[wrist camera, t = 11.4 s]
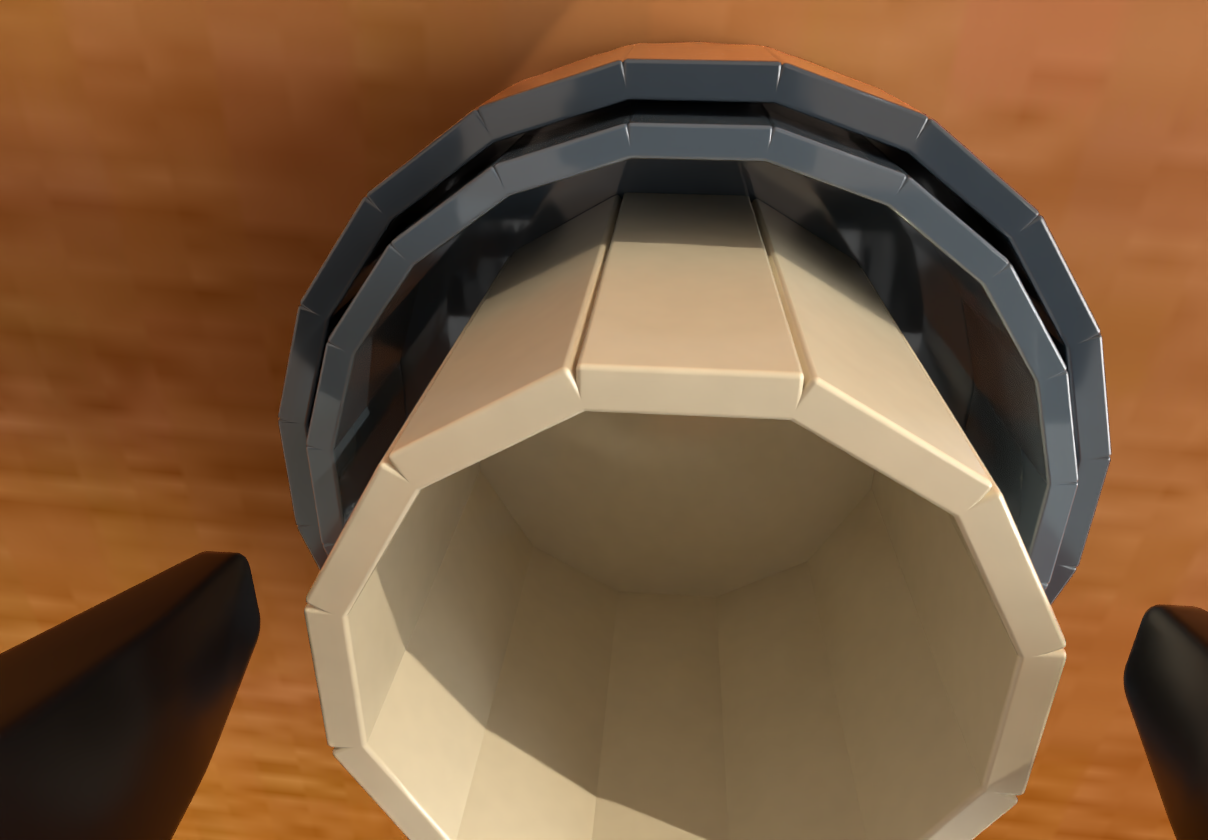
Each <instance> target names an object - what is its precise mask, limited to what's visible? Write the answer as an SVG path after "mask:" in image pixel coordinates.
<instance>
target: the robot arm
mask: <svg viewBox="0 0 1208 840" xmlns="http://www.w3.org/2000/svg"><path fill="white" fill-rule="evenodd" d="M259 631H260V613H259V608H258V604H257V599H256V594H255V589H254V584H253V579H252V574H251V570H250V566H249V563H248V561H247V559H246V557H244V556H243V555H241V554H240V553H232V552H215V551H206V552H201V553H199V554H197V555H195V556H193V557H191V558H189V559H187V560H185V561H183V562H181V563H179V564H177V565H175V566H173V567H171V568H169V569H167V570H165V571H163V572H161V573H159V574H157V575H155V576H153V577H151V578H150V579H148V580H146V581H144V582H142V583H140V584H138V585H136V586H134V587H132V588H130V589H128V590H126V591H124V592H122V593H120V594H118V595H116V596H114V597H112V598H110V599H108V600H106V601H104V602H102V603H100V604H98V605H96V606H94V607H92V608H90V609H88V610H86V611H84V612H82V613H80V614H78V615H76V616H74V617H72V618H71V619H69V620H67V621H65V622H63V623H61V624H59V625H57V626H55V627H53V628H51V629H49V630H47V631H45V632H43V633H41V634H39V635H37V636H35V637H33V638H31V639H29V640H27V641H25V642H23V643H21V644H19V645H17V646H15V647H13V648H11V649H9V650H7V651H5V652H3V653H1V654H0V840H171V839H172V837H173V835H174V833H175V831H176V829H177V827H178V825H179V823H180V821H181V819H182V817H183V816H184V814H185V812H186V810H187V808H188V806H189V804H190V802H191V800H192V798H193V796H194V794H195V792H196V790H197V788H198V786H199V784H200V782H201V780H202V778H203V776H204V774H205V772H206V770H207V767H208V765H209V762H210V760H211V758H212V755H213V753H214V751H215V748H216V746H217V743H218V740H219V738H220V735H221V733H222V730H223V728H224V725H225V722H226V720H227V717H228V715H229V712H230V709H231V707H232V704H233V702H234V699H235V697H236V694H237V691H238V689H239V686H240V684H241V681H242V679H243V676H244V673H245V671H246V668H247V666H248V663H249V660H250V658H251V655H252V653H253V650H254V648H255V645H256V642H257V639H258V636H259ZM1124 689H1125V694H1126V697H1127V700H1128V703H1129V706H1130V709H1131V712H1132V715H1133V718H1134V720H1135V723H1136V726H1137V729H1138V732H1139V735H1140V738H1141V741H1142V744H1143V746H1144V749H1145V752H1146V755H1147V758H1148V761H1149V764H1150V767H1151V769H1152V772H1153V775H1154V778H1155V781H1156V784H1157V787H1158V790H1159V792H1160V795H1161V798H1162V801H1163V804H1164V807H1165V810H1166V813H1167V815H1168V818H1169V821H1170V823H1171V826H1172V829H1173V831H1174V834H1175V836H1176V839H1177V840H1208V612H1207V611H1205V610H1203V609H1201V608H1198V607H1193V606H1177V605H1155V606H1153V607H1151V608H1149V609H1148V610H1147V611H1146V613H1145V614H1144V616H1143V618H1142V621H1141V624H1140V627H1139V630H1138V632H1137V635H1136V638H1135V641H1134V644H1133V647H1132V649H1131V652H1130V655H1129V658H1128V661H1127V663H1126V666H1125V671H1124Z"/></svg>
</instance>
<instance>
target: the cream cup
mask: <svg viewBox="0 0 1208 840" xmlns="http://www.w3.org/2000/svg"><path fill="white" fill-rule="evenodd" d="M306 602H307V605H306V607H305V609H304V614H305V619H306V625H307V631H308V636H309V642H310V648H311V653H312V659H313V664H314V670H315V676H316V681H317V687H318V693H319V698H320V704H321V709H322V715H323V721H324V726H325V732H326V738H327V743H328V745H329V746H330V747H334V749H333V755H334V757H335V758H336V759H337V760H338V761H339V762H340V763H341V764H342V766H343V767H344V768H345V769H346V770H347V771H348V772H349V773H350V774H351V775H352V777H353V778H354V779H355V780H356V781H357V782H358V783H359V784H360V785H361V787H362V788H363V789H364V790H365V791H366V792H367V793H368V794H369V795H370V797H371V798H372V799H373V800H374V801H375V802H376V803H377V804H378V805H379V807H380V808H381V809H382V810H383V811H384V812H385V813H386V814H387V815H388V817H389V818H390V819H391V820H392V821H393V822H394V823H395V824H396V825H397V826H398V828H399V829H400V830H401V831H402V832H403V833H404V834H405V835H406V836H407V838H408V839H409V840H973V839H974V838H975V837H976V836H978V835H979V834H980V833H981V832H982V831H984V830H985V829H986V828H987V827H989V826H990V825H991V824H992V823H993V822H995V821H996V820H997V819H998V818H1000V817H1001V816H1002V815H1003V814H1005V813H1006V812H1007V811H1008V810H1009V809H1011V808H1012V807H1013V806H1014V805H1016V803H1017V802H1018V798H1017V796H1016V795H1023V794H1024V792H1025V789H1026V786H1027V782H1028V779H1029V776H1030V773H1031V770H1032V766H1033V763H1034V760H1035V757H1036V754H1037V750H1038V747H1039V744H1040V741H1041V738H1042V734H1043V731H1044V728H1045V725H1046V722H1047V718H1048V715H1049V712H1050V709H1051V706H1052V702H1053V699H1054V696H1055V693H1056V690H1057V686H1058V683H1059V680H1060V677H1061V674H1062V670H1063V667H1064V664H1065V661H1066V652H1065V650H1064V647H1065V646H1066V640H1065V638H1064V635H1063V633H1062V631H1061V628H1060V626H1059V624H1058V621H1057V619H1056V617H1055V614H1054V612H1053V610H1052V607H1051V605H1050V603H1049V600H1048V598H1047V596H1046V594H1045V591H1044V589H1043V587H1042V584H1041V582H1040V580H1039V577H1038V575H1037V573H1036V570H1035V568H1034V566H1033V563H1032V561H1031V559H1030V557H1029V554H1028V552H1027V550H1026V547H1025V545H1024V543H1023V540H1022V538H1021V536H1020V533H1019V531H1018V529H1017V526H1016V524H1015V522H1014V519H1013V517H1012V515H1011V513H1010V510H1009V508H1008V506H1007V503H1006V501H1005V499H1004V496H1003V494H1002V492H1001V491H1000V489H999V487H998V486H997V484H996V483H995V481H994V479H993V478H992V476H991V475H990V473H989V471H988V470H987V468H986V467H985V465H984V463H983V462H982V460H981V458H980V457H979V455H978V454H977V452H976V450H975V449H974V447H973V446H972V444H971V442H970V441H969V439H968V437H967V436H966V434H965V433H964V431H963V429H962V428H961V426H960V425H959V423H958V421H957V420H956V418H955V416H954V415H953V413H952V412H951V410H950V408H949V407H948V405H947V404H946V402H945V400H944V399H943V397H942V396H941V394H940V392H939V391H938V389H937V387H936V386H935V384H934V383H933V381H932V379H931V378H930V376H929V375H928V373H927V371H926V370H925V368H924V366H923V365H922V363H921V362H920V360H919V358H918V357H917V355H916V354H915V352H914V350H913V349H912V347H911V346H910V344H909V342H908V341H907V339H906V337H905V336H904V334H903V333H902V331H901V329H900V328H899V326H898V325H897V323H896V321H895V320H894V318H893V316H892V315H891V313H890V312H889V310H888V308H887V307H886V305H885V304H884V302H883V300H882V299H881V297H880V295H879V294H878V292H877V291H876V289H875V287H874V286H873V284H872V283H871V281H870V279H869V278H868V276H867V275H866V273H865V271H864V270H863V269H862V268H860V267H859V265H858V263H857V262H856V261H855V260H853V259H852V258H850V257H849V256H847V255H846V254H844V253H842V252H841V251H839V250H838V249H836V248H834V247H833V246H831V245H830V244H828V243H827V242H825V241H823V240H822V239H820V238H819V237H817V236H816V235H814V234H812V233H811V232H809V231H808V230H806V229H805V228H803V227H801V226H800V225H798V224H797V223H795V222H794V221H792V220H790V219H789V218H787V217H786V216H784V215H782V214H781V213H779V212H778V211H776V210H775V209H773V208H771V207H770V206H768V205H767V204H765V203H764V202H762V201H760V200H759V199H755V200H753V202H752V203H751V200H750V197H748V196H734V195H697V194H659V193H625V194H624V195H623V198H622V199H621V198H620V196H618V195H615V196H613V197H611V198H610V199H608V200H606V201H604V202H602V203H600V204H599V205H597V206H595V207H593V208H591V209H590V210H588V211H586V212H584V213H582V214H581V215H579V216H577V217H575V218H573V219H571V220H570V221H568V222H566V223H564V224H562V225H561V226H559V227H557V228H555V229H553V230H552V231H550V232H548V233H546V234H544V235H542V236H541V237H539V238H537V239H535V240H533V241H532V242H530V243H528V244H526V245H524V246H523V247H521V248H519V249H517V250H515V251H514V253H513V254H512V256H511V257H508V258H507V260H506V261H505V263H504V265H503V266H502V268H501V269H500V271H499V272H498V274H497V276H496V277H495V279H494V280H493V282H492V284H491V285H490V287H489V288H488V290H487V292H486V293H485V295H484V296H483V298H482V300H481V301H480V303H479V304H478V306H477V308H476V309H475V311H474V312H473V314H472V316H471V317H470V319H469V320H468V322H467V323H466V325H465V327H464V328H463V330H462V331H461V333H460V335H459V336H458V338H457V339H456V341H455V343H454V344H453V346H452V347H451V349H450V351H449V352H448V354H447V355H446V357H445V359H444V360H443V362H442V363H441V365H440V367H439V368H438V370H437V371H436V373H435V375H434V376H433V378H432V379H431V381H430V382H429V384H428V386H427V387H426V389H425V390H424V392H423V394H422V395H421V397H420V398H419V400H418V402H417V403H416V405H415V406H414V408H413V410H412V411H411V413H410V414H409V416H408V418H407V419H406V421H405V422H404V424H403V426H402V427H401V429H400V430H399V432H398V434H397V435H396V437H395V438H394V440H393V441H392V443H391V445H390V446H389V448H388V449H387V451H386V453H385V454H384V456H383V457H382V459H381V461H380V462H379V464H378V466H377V467H376V469H375V471H374V473H373V475H372V477H371V478H370V480H369V482H368V484H367V486H366V488H365V489H364V491H363V493H362V495H361V497H360V499H359V500H358V502H357V504H356V506H355V508H354V510H353V511H352V513H351V515H350V517H349V519H348V521H347V522H346V524H345V526H344V528H343V530H342V532H341V533H340V535H339V537H338V539H337V541H336V543H335V544H334V546H333V548H332V550H331V552H330V554H329V555H328V557H327V559H326V561H325V563H324V565H323V566H322V568H321V570H320V572H319V574H318V576H317V577H316V579H315V581H314V583H313V585H312V587H311V588H310V590H309V592H308V594H307V596H306Z"/></svg>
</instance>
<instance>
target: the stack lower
mask: <svg viewBox="0 0 1208 840" xmlns="http://www.w3.org/2000/svg"><path fill="white" fill-rule="evenodd" d="M626 100H663V101H714V102H764V103H775V104H778V105H780V106H783V107H786V108H788V109H791V110H794V111H797V112H799V113H802V114H805V115H807V116H810V117H813V118H815V119H818V120H821V121H824V122H826V123H829V124H832V125H834V126H837V127H840V128H842V129H845V130H848V131H850V132H853V133H856V134H859V135H861V136H864V137H866V138H867V139H868V140H869V141H870V142H872V143H873V144H874V145H875V146H876V147H877V148H879V149H880V150H881V151H882V152H883V153H885V154H886V155H887V156H888V157H889V158H890V159H892V160H893V161H894V162H895V163H896V164H897V165H899V166H900V167H901V168H902V169H903V170H905V171H906V172H907V173H908V174H909V175H910V176H912V177H913V178H914V179H915V180H916V181H918V182H919V183H920V184H921V185H922V186H923V187H925V188H926V189H927V190H928V191H929V192H930V193H932V194H933V195H934V196H935V197H936V198H938V199H939V200H940V201H941V202H942V203H943V204H944V205H946V206H947V207H948V208H949V209H950V210H951V211H953V212H954V213H955V214H956V215H957V216H958V217H960V218H961V219H962V220H963V221H964V222H965V223H966V224H968V225H969V226H970V227H971V228H972V229H973V230H975V231H976V232H977V233H978V234H979V235H980V236H981V237H983V238H984V239H985V240H986V241H987V242H988V243H990V244H991V245H992V246H993V247H994V248H995V249H997V250H998V251H999V252H1000V253H1001V254H1002V255H1003V256H1005V257H1006V258H1007V259H1008V261H1009V262H1010V263H1011V264H1012V265H1013V267H1014V269H1015V271H1016V273H1017V275H1018V276H1019V278H1020V280H1021V282H1022V284H1023V286H1024V288H1025V290H1026V291H1027V293H1028V295H1029V297H1030V299H1031V301H1032V303H1033V305H1034V306H1035V308H1036V310H1037V312H1038V314H1039V316H1040V318H1041V320H1042V321H1043V323H1044V325H1045V327H1046V329H1047V331H1048V333H1049V335H1050V336H1051V338H1052V340H1053V342H1054V344H1055V346H1056V348H1057V350H1058V351H1059V353H1060V355H1061V357H1062V359H1063V361H1064V363H1065V365H1066V369H1067V372H1068V374H1069V384H1070V394H1071V405H1072V415H1073V425H1074V435H1075V445H1076V455H1077V465H1078V476H1079V480H1078V481H1077V482H1078V487H1077V491H1076V494H1075V498H1074V501H1073V504H1072V508H1071V511H1070V515H1069V518H1068V522H1067V525H1066V529H1065V532H1064V536H1063V539H1062V543H1061V546H1060V550H1059V553H1058V557H1057V560H1056V563H1055V567H1054V570H1053V574H1052V577H1051V581H1050V583H1048V587H1047V589H1046V590H1045V594H1046V596H1047V598H1048V600H1049V603H1050V605H1051V604H1052V603H1053V602H1054V600H1055V599H1056V598H1057V596H1058V595H1059V593H1060V592H1061V591H1062V589H1063V588H1064V587H1065V585H1066V584H1067V582H1068V581H1069V580H1070V578H1071V577H1072V576H1073V574H1074V573H1075V571H1076V567H1078V565H1079V563H1080V559H1081V556H1082V553H1083V550H1084V546H1085V543H1086V540H1087V536H1088V533H1089V530H1090V526H1091V523H1092V520H1093V517H1094V513H1095V510H1096V507H1097V503H1098V500H1099V497H1100V493H1101V490H1102V487H1103V483H1104V480H1105V477H1106V474H1107V470H1108V467H1109V464H1110V460H1111V459H1110V455H1111V441H1110V429H1109V416H1108V404H1107V391H1106V379H1105V366H1104V354H1103V341H1102V335H1101V334H1100V328H1099V326H1098V324H1097V322H1096V320H1095V318H1094V316H1093V314H1092V312H1091V310H1090V308H1089V306H1088V304H1087V302H1086V300H1085V298H1084V296H1083V294H1082V292H1081V290H1080V288H1079V287H1078V285H1077V283H1076V281H1075V279H1074V277H1073V275H1072V273H1071V271H1070V269H1069V267H1068V265H1067V263H1066V261H1065V259H1064V257H1063V255H1062V253H1061V251H1060V249H1059V247H1058V245H1057V243H1056V241H1055V239H1054V237H1053V235H1052V233H1051V231H1050V229H1049V228H1048V226H1047V224H1046V222H1045V220H1044V218H1043V216H1041V215H1040V214H1039V212H1038V210H1037V209H1036V208H1035V207H1034V206H1033V205H1031V204H1030V203H1029V202H1028V201H1027V200H1026V199H1025V198H1023V197H1022V196H1021V195H1020V194H1019V193H1018V192H1017V191H1015V190H1014V189H1013V188H1012V187H1011V186H1010V185H1009V184H1007V183H1006V182H1005V181H1004V180H1003V179H1002V178H1001V177H999V176H998V175H997V174H996V173H995V172H994V171H993V170H991V169H990V168H989V167H988V166H987V165H986V164H985V163H983V162H982V161H981V160H980V159H979V158H978V157H977V156H975V155H974V154H973V153H972V152H971V151H970V150H969V149H967V148H966V147H965V146H964V145H963V144H962V143H961V142H959V141H958V140H957V139H956V138H955V137H954V136H953V135H951V134H950V133H949V132H948V131H947V130H946V129H945V128H943V127H942V126H941V125H940V124H939V123H938V122H937V121H935V120H934V119H933V118H931V117H929V116H927V115H926V114H924V113H922V112H921V111H919V110H917V109H915V108H913V107H912V106H910V105H908V104H906V103H905V102H903V101H901V100H899V99H897V98H896V97H894V96H892V95H890V94H888V93H887V92H885V91H883V90H881V89H880V88H877V87H874V86H872V85H869V84H866V83H864V82H861V81H858V80H856V79H853V78H850V77H848V76H845V75H843V74H840V73H837V72H835V71H832V70H830V69H827V68H825V67H822V66H820V65H817V64H814V63H812V62H809V61H807V60H804V59H802V58H799V57H795V56H792V55H789V54H786V53H784V52H781V51H778V50H776V49H773V48H770V47H768V46H764V47H763V46H761V45H740V44H723V43H711V42H700V41H695V42H677V43H637V44H635V45H633V44H629V45H626V46H623V47H620V48H617V49H614V50H611V51H608V52H605V53H600V54H596V55H593V56H590V57H587V58H584V59H581V60H579V61H576V62H573V63H570V64H567V65H564V66H561V67H559V68H556V69H553V70H550V71H548V72H546V73H543V74H540V75H537V76H534V77H531V78H528V79H525V80H522V81H519V82H517V83H515V84H514V85H511V86H510V87H508V88H506V89H505V90H503V91H502V92H500V93H498V94H497V95H495V96H493V97H492V98H490V99H489V100H487V101H485V102H484V103H482V104H481V105H479V106H477V107H476V108H474V109H473V110H471V111H470V112H469V113H468V114H466V115H465V116H464V117H462V118H461V119H460V120H459V121H457V122H456V123H455V124H454V125H452V126H451V127H450V128H448V129H447V130H446V131H445V132H443V133H442V134H441V135H440V136H438V137H437V138H436V139H434V140H433V141H432V142H431V143H429V144H428V145H427V146H426V147H424V148H423V149H422V150H420V151H419V152H418V153H417V154H415V155H414V156H413V157H412V158H410V159H409V160H408V161H406V162H405V163H404V164H403V165H401V166H400V167H399V168H398V169H396V170H395V171H394V172H392V173H391V174H390V175H389V176H387V177H386V178H385V179H384V180H382V181H381V182H380V183H378V184H377V185H376V186H375V187H373V188H372V189H371V190H370V191H368V193H367V195H366V196H365V197H363V198H362V200H361V201H360V203H359V205H358V206H357V208H356V210H355V211H354V213H353V214H352V216H351V218H350V219H349V221H348V223H347V224H346V226H345V228H344V229H343V231H342V233H341V234H340V236H339V238H338V239H337V241H336V242H335V244H334V246H333V247H332V249H331V251H330V252H329V254H328V256H327V257H326V259H325V261H324V262H323V264H322V266H321V267H320V269H319V270H318V272H317V274H316V275H315V277H314V279H313V280H312V282H311V284H310V285H309V287H308V289H307V290H306V292H305V294H304V295H303V297H302V298H301V300H300V305H299V306H298V309H297V315H296V320H295V326H294V331H293V337H292V342H291V347H290V353H289V358H288V364H287V369H286V375H285V380H284V386H283V391H282V397H281V402H280V408H279V413H278V417H279V420H278V424H279V430H280V435H281V441H282V447H283V453H284V459H285V464H286V470H287V476H288V482H289V487H290V493H291V499H292V505H293V511H294V516H295V522H296V525H298V531H299V532H300V534H301V536H302V538H303V540H304V542H305V544H306V545H307V547H308V549H309V551H310V553H311V555H312V557H313V558H314V560H315V562H316V564H317V566H318V568H319V570H321V568H322V566H323V565H324V563H325V561H326V559H327V557H328V556H327V554H326V552H325V550H324V548H323V543H322V542H321V538H320V531H319V525H318V519H317V513H316V506H315V500H314V494H313V487H312V481H311V475H310V469H309V462H308V456H307V450H306V447H307V443H306V441H307V436H308V431H309V426H310V421H311V416H312V411H313V406H314V401H315V396H316V392H317V387H318V382H319V377H320V372H321V367H322V362H323V357H324V352H325V347H326V343H327V342H328V339H329V336H330V335H331V333H332V332H333V330H334V328H335V327H336V325H337V324H338V322H339V321H340V319H341V318H342V316H343V314H344V313H345V311H346V310H347V308H348V307H349V305H350V303H351V302H352V300H353V299H354V297H355V296H356V294H357V292H358V291H359V289H360V288H361V286H362V285H363V283H364V281H365V280H366V278H367V277H368V275H369V274H370V272H371V271H372V269H373V267H374V266H375V264H376V263H377V261H378V260H379V258H380V256H381V255H382V253H383V252H384V250H385V249H386V247H387V245H388V244H390V243H391V242H392V240H393V239H394V238H395V237H396V236H398V235H399V234H400V233H401V232H402V231H403V230H404V229H405V228H406V227H408V226H409V225H410V224H411V223H412V222H413V221H414V220H415V219H416V218H417V217H419V216H420V215H421V214H422V213H423V212H424V211H425V210H426V209H427V208H429V207H430V206H431V205H432V204H433V203H434V202H435V201H436V200H437V199H439V198H440V197H441V196H442V195H443V194H444V193H445V192H446V191H447V190H449V189H450V188H451V187H452V186H453V185H454V184H456V183H457V182H458V181H460V180H461V179H462V178H464V177H465V176H466V175H468V174H469V173H470V172H472V171H473V170H474V169H475V168H477V167H478V166H479V165H481V164H482V163H483V162H485V161H486V160H487V159H489V158H490V157H491V156H493V155H494V154H495V153H497V152H498V151H499V150H501V149H502V148H503V147H505V146H506V145H507V144H509V143H510V142H511V141H512V140H514V139H515V138H516V137H518V136H519V135H520V134H523V133H526V132H529V131H532V130H536V129H539V128H542V127H545V126H548V125H551V124H554V123H557V122H560V121H564V120H567V119H570V118H573V117H576V116H579V115H582V114H585V113H588V112H592V111H595V110H598V109H601V108H604V107H607V106H610V105H613V104H616V103H620V102H623V101H626Z"/></svg>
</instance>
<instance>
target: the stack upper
mask: <svg viewBox="0 0 1208 840" xmlns="http://www.w3.org/2000/svg"><path fill="white" fill-rule="evenodd" d="M625 193H659V194H697V195H734V196H748V197H750V200H751V203H752V202H753V200H755V199H759V200H760V201H762V202H764V203H765V204H767V205H768V206H770V207H771V208H773V209H775V210H776V211H778V212H779V213H781V214H782V215H784V216H786V217H787V218H789V219H790V220H792V221H794V222H795V223H797V224H798V225H800V226H801V227H803V228H805V229H806V230H808V231H809V232H811V233H812V234H814V235H816V236H817V237H819V238H820V239H822V240H823V241H825V242H827V243H828V244H830V245H831V246H833V247H834V248H836V249H838V250H839V251H841V252H842V253H844V254H846V255H847V256H849V257H850V258H852V259H853V260H855V261H856V262H857V263H858V265H859V267H860V268H862V269H863V270H864V271H865V273H866V275H867V276H868V278H869V279H870V281H871V283H872V284H873V286H874V287H875V289H876V291H877V292H878V294H879V295H880V297H881V299H882V300H883V302H884V304H885V305H886V307H887V308H888V310H889V312H890V313H891V315H892V316H893V318H894V320H895V321H896V323H897V325H898V326H899V328H900V329H901V331H902V333H903V334H904V336H905V337H906V339H907V341H908V342H909V344H910V346H911V347H912V349H913V350H914V352H915V354H916V355H917V357H918V358H919V360H920V362H921V363H922V365H923V366H924V368H925V370H926V371H927V373H928V375H929V376H930V378H931V379H932V381H933V383H934V384H935V386H936V387H937V389H938V391H939V392H940V394H941V396H942V397H943V399H944V400H945V402H946V404H947V405H948V407H949V408H950V410H951V412H952V413H953V415H954V416H955V418H956V420H957V421H958V423H959V425H960V426H961V428H962V429H963V431H964V433H965V434H966V436H967V437H968V439H969V441H970V442H971V444H972V446H973V447H974V449H975V450H976V452H977V454H978V455H979V457H980V458H981V460H982V462H983V463H984V465H985V467H986V468H987V470H988V471H989V473H990V475H991V476H992V478H993V479H994V481H995V483H996V484H997V486H998V487H999V489H1000V491H1001V492H1002V494H1003V496H1004V499H1005V501H1006V503H1007V506H1008V508H1009V510H1010V513H1011V515H1012V517H1013V519H1014V522H1015V524H1016V526H1017V529H1018V531H1019V533H1020V536H1021V538H1022V540H1023V543H1024V545H1025V547H1026V550H1027V552H1028V554H1029V557H1030V559H1031V561H1032V563H1033V566H1034V568H1035V570H1036V573H1037V575H1038V577H1039V580H1040V582H1041V584H1042V587H1043V589H1044V591H1045V590H1046V589H1047V587H1048V583H1050V581H1051V577H1052V574H1053V570H1054V567H1055V563H1056V560H1057V557H1058V553H1059V550H1060V546H1061V543H1062V539H1063V536H1064V532H1065V529H1066V525H1067V522H1068V518H1069V515H1070V511H1071V508H1072V504H1073V501H1074V498H1075V494H1076V491H1077V487H1078V482H1077V481H1078V480H1079V476H1078V465H1077V455H1076V445H1075V435H1074V425H1073V415H1072V405H1071V394H1070V384H1069V374H1068V372H1067V369H1066V365H1065V363H1064V361H1063V359H1062V357H1061V355H1060V353H1059V351H1058V350H1057V348H1056V346H1055V344H1054V342H1053V340H1052V338H1051V336H1050V335H1049V333H1048V331H1047V329H1046V327H1045V325H1044V323H1043V321H1042V320H1041V318H1040V316H1039V314H1038V312H1037V310H1036V308H1035V306H1034V305H1033V303H1032V301H1031V299H1030V297H1029V295H1028V293H1027V291H1026V290H1025V288H1024V286H1023V284H1022V282H1021V280H1020V278H1019V276H1018V275H1017V273H1016V271H1015V269H1014V267H1013V265H1012V264H1011V263H1010V262H1009V261H1008V259H1007V258H1006V257H1005V256H1003V255H1002V254H1001V253H1000V252H999V251H998V250H997V249H995V248H994V247H993V246H992V245H991V244H990V243H988V242H987V241H986V240H985V239H984V238H983V237H981V236H980V235H979V234H978V233H977V232H976V231H975V230H973V229H972V228H971V227H970V226H969V225H968V224H966V223H965V222H964V221H963V220H962V219H961V218H960V217H958V216H957V215H956V214H955V213H954V212H953V211H951V210H950V209H949V208H948V207H947V206H946V205H944V204H943V203H942V202H941V201H940V200H939V199H938V198H936V197H935V196H934V195H933V194H932V193H930V192H929V191H928V190H927V189H926V188H925V187H923V186H922V185H921V184H920V183H919V182H918V181H916V180H915V179H914V178H913V177H912V176H910V175H909V174H908V173H907V172H906V171H905V170H903V169H902V168H901V167H900V166H899V165H897V164H896V163H895V162H894V161H893V160H892V159H890V158H889V157H888V156H887V155H886V154H885V153H883V152H882V151H881V150H880V149H879V148H877V147H876V146H875V145H874V144H873V143H872V142H870V141H869V140H868V139H867V138H866V137H864V136H861V135H859V134H856V133H853V132H850V131H848V130H845V129H842V128H840V127H837V126H834V125H832V124H829V123H826V122H824V121H821V120H818V119H815V118H813V117H810V116H807V115H805V114H802V113H799V112H797V111H794V110H791V109H788V108H786V107H783V106H780V105H778V104H775V103H764V102H714V101H663V100H626V101H623V102H620V103H616V104H613V105H610V106H607V107H604V108H601V109H598V110H595V111H592V112H588V113H585V114H582V115H579V116H576V117H573V118H570V119H567V120H564V121H560V122H557V123H554V124H551V125H548V126H545V127H542V128H539V129H536V130H532V131H529V132H526V133H523V134H520V135H519V136H518V137H516V138H515V139H514V140H512V141H511V142H510V143H509V144H507V145H506V146H505V147H503V148H502V149H501V150H499V151H498V152H497V153H495V154H494V155H493V156H491V157H490V158H489V159H487V160H486V161H485V162H483V163H482V164H481V165H479V166H478V167H477V168H475V169H474V170H473V171H472V172H470V173H469V174H468V175H466V176H465V177H464V178H462V179H461V180H460V181H458V182H457V183H456V184H454V185H453V186H452V187H451V188H450V189H449V190H447V191H446V192H445V193H444V194H443V195H442V196H441V197H440V198H439V199H437V200H436V201H435V202H434V203H433V204H432V205H431V206H430V207H429V208H427V209H426V210H425V211H424V212H423V213H422V214H421V215H420V216H419V217H417V218H416V219H415V220H414V221H413V222H412V223H411V224H410V225H409V226H408V227H406V228H405V229H404V230H403V231H402V232H401V233H400V234H399V235H398V236H396V237H395V238H394V239H393V240H392V242H391V243H390V244H388V245H387V247H386V249H385V250H384V252H383V253H382V255H381V256H380V258H379V260H378V261H377V263H376V264H375V266H374V267H373V269H372V271H371V272H370V274H369V275H368V277H367V278H366V280H365V281H364V283H363V285H362V286H361V288H360V289H359V291H358V292H357V294H356V296H355V297H354V299H353V300H352V302H351V303H350V305H349V307H348V308H347V310H346V311H345V313H344V314H343V316H342V318H341V319H340V321H339V322H338V324H337V325H336V327H335V328H334V330H333V332H332V333H331V335H330V336H329V339H328V342H327V343H326V347H325V352H324V357H323V362H322V367H321V372H320V377H319V382H318V387H317V392H316V396H315V401H314V406H313V411H312V416H311V421H310V426H309V431H308V436H307V441H306V443H307V447H306V450H307V456H308V462H309V469H310V475H311V481H312V487H313V494H314V500H315V506H316V513H317V519H318V525H319V531H320V538H321V542H322V543H323V548H324V550H325V552H326V554H327V556H328V555H329V554H330V552H331V550H332V548H333V546H334V544H335V543H336V541H337V539H338V537H339V535H340V533H341V532H342V530H343V528H344V526H345V524H346V522H347V521H348V519H349V517H350V515H351V513H352V511H353V510H354V508H355V506H356V504H357V502H358V500H359V499H360V497H361V495H362V493H363V491H364V489H365V488H366V486H367V484H368V482H369V480H370V478H371V477H372V475H373V473H374V471H375V469H376V467H377V466H378V464H379V462H380V461H381V459H382V457H383V456H384V454H385V453H386V451H387V449H388V448H389V446H390V445H391V443H392V441H393V440H394V438H395V437H396V435H397V434H398V432H399V430H400V429H401V427H402V426H403V424H404V422H405V421H406V419H407V418H408V416H409V414H410V413H411V411H412V410H413V408H414V406H415V405H416V403H417V402H418V400H419V398H420V397H421V395H422V394H423V392H424V390H425V389H426V387H427V386H428V384H429V382H430V381H431V379H432V378H433V376H434V375H435V373H436V371H437V370H438V368H439V367H440V365H441V363H442V362H443V360H444V359H445V357H446V355H447V354H448V352H449V351H450V349H451V347H452V346H453V344H454V343H455V341H456V339H457V338H458V336H459V335H460V333H461V331H462V330H463V328H464V327H465V325H466V323H467V322H468V320H469V319H470V317H471V316H472V314H473V312H474V311H475V309H476V308H477V306H478V304H479V303H480V301H481V300H482V298H483V296H484V295H485V293H486V292H487V290H488V288H489V287H490V285H491V284H492V282H493V280H494V279H495V277H496V276H497V274H498V272H499V271H500V269H501V268H502V266H503V265H504V263H505V261H506V260H507V258H508V257H511V256H512V254H513V253H514V251H515V250H517V249H519V248H521V247H523V246H524V245H526V244H528V243H530V242H532V241H533V240H535V239H537V238H539V237H541V236H542V235H544V234H546V233H548V232H550V231H552V230H553V229H555V228H557V227H559V226H561V225H562V224H564V223H566V222H568V221H570V220H571V219H573V218H575V217H577V216H579V215H581V214H582V213H584V212H586V211H588V210H590V209H591V208H593V207H595V206H597V205H599V204H600V203H602V202H604V201H606V200H608V199H610V198H611V197H613V196H615V195H618V196H620V198H621V199H622V198H623V195H624V194H625Z"/></svg>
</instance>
